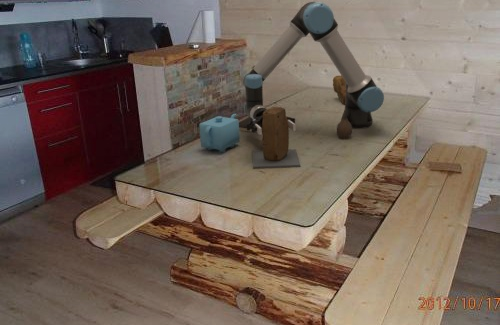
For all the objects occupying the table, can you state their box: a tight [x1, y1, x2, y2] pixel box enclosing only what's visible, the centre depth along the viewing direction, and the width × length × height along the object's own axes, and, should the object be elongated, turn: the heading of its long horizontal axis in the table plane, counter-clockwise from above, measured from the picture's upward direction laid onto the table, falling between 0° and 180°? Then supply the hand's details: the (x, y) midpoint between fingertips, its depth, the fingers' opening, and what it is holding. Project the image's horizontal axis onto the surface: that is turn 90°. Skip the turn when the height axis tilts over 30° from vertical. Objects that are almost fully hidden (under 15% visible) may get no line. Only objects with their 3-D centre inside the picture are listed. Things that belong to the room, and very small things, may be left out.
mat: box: [252, 148, 301, 170], centre depth 179 cm, size 18×18×1 cm
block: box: [261, 106, 290, 161], centre depth 176 cm, size 11×8×20 cm
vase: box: [336, 117, 353, 140], centre depth 200 cm, size 7×7×9 cm
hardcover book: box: [239, 116, 262, 133], centre depth 225 cm, size 16×23×2 cm
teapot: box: [198, 113, 240, 153], centre depth 194 cm, size 22×11×14 cm, turn 147°
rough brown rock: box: [332, 75, 346, 105], centre depth 257 cm, size 23×17×15 cm
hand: (277, 129), depth 172 cm, fingers open, 13 cm apart
